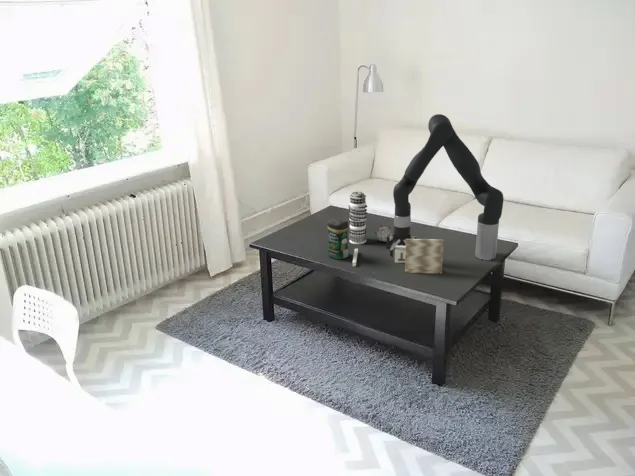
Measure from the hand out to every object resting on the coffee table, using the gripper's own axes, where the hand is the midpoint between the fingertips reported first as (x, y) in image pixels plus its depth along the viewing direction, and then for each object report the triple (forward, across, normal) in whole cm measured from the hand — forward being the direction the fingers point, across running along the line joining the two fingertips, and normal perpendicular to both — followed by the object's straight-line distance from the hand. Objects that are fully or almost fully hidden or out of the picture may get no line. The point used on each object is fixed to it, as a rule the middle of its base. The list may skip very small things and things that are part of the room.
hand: (401, 257), depth 276 cm
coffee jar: (+2, -29, +3) cm, 30 cm away
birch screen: (+1, +10, -12) cm, 15 cm away
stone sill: (+1, -21, 0) cm, 21 cm away
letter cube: (+2, 0, 0) cm, 2 cm away
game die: (+2, -8, +22) cm, 24 cm away
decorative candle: (+2, -21, +22) cm, 31 cm away
